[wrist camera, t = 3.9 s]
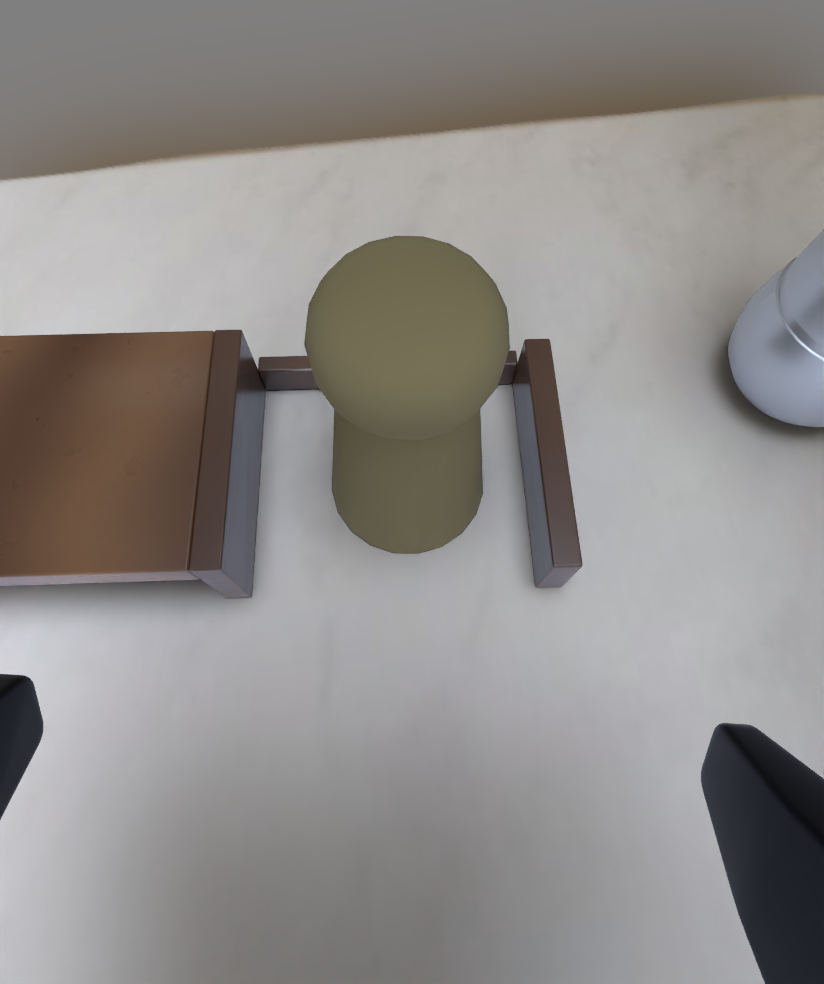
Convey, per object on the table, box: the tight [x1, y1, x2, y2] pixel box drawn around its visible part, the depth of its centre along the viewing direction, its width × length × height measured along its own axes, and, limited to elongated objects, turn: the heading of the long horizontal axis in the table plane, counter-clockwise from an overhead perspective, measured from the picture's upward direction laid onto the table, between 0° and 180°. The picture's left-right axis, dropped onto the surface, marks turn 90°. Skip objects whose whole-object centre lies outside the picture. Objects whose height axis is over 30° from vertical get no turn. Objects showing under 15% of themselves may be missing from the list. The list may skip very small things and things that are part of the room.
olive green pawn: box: [304, 236, 510, 553], centre depth 19 cm, size 6×6×11 cm
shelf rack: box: [0, 330, 582, 598], centre depth 22 cm, size 24×10×4 cm, turn 92°
